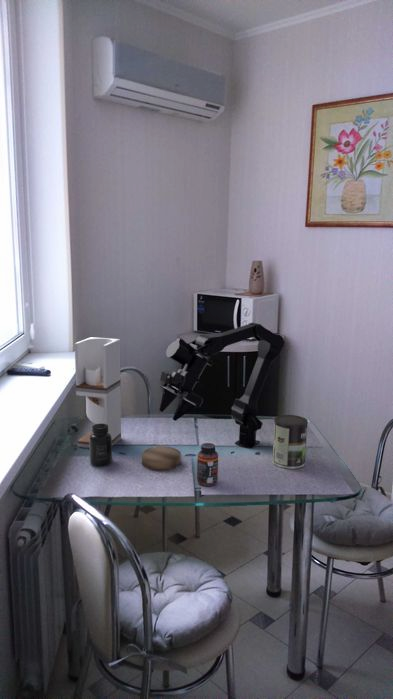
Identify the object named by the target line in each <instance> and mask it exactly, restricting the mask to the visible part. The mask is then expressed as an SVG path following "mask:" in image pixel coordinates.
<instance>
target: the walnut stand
mask: <svg viewBox="0 0 393 699" xmlns="http://www.w3.org/2000/svg"><path fill="white" fill-rule="evenodd" d="M181 456H182V455H181V451H180V450H179V449H177V448H176V447H172V446H166V445H165V446H164V445H163V446H162V445H161V446H160V445H159V446H156V445H155V446H152V447H149V448H145V449H144V450H143V451H142V452H141V465H142V467H144V468H146V469H148V470H151V471H156V472H157V471H158V472H165V471H171V470H175V469H176V468H179V466H180V465H181V462H182V461H181V459H182V458H181Z"/></svg>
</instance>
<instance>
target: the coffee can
mask: <svg viewBox="0 0 393 699" xmlns="http://www.w3.org/2000/svg"><path fill="white" fill-rule="evenodd" d="M273 423H274V426H273V427H274V429H273V444H272V445H273V450H272V460H271V461H272V463H273V465H274V466H277V467H279V468H283V469H288V470H297V469H301V468H303V467H305V465H306V450H307V434H308V425H309V424H308V423H309V421H308V419H307V418H305V417H302V416H299V415H294V414H282V415H277V416H275V417H274V418H273Z"/></svg>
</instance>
